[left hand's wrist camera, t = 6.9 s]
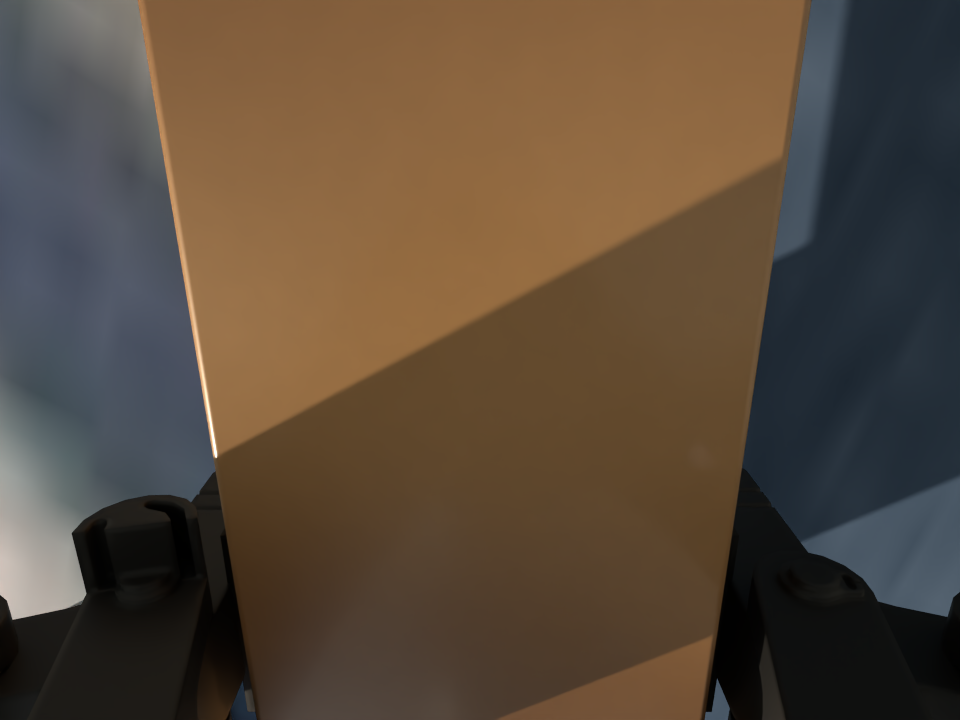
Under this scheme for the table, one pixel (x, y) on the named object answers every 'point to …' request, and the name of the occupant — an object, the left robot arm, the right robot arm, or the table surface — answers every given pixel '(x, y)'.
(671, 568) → the plank
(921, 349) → the table surface
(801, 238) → the table surface
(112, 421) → the table surface
